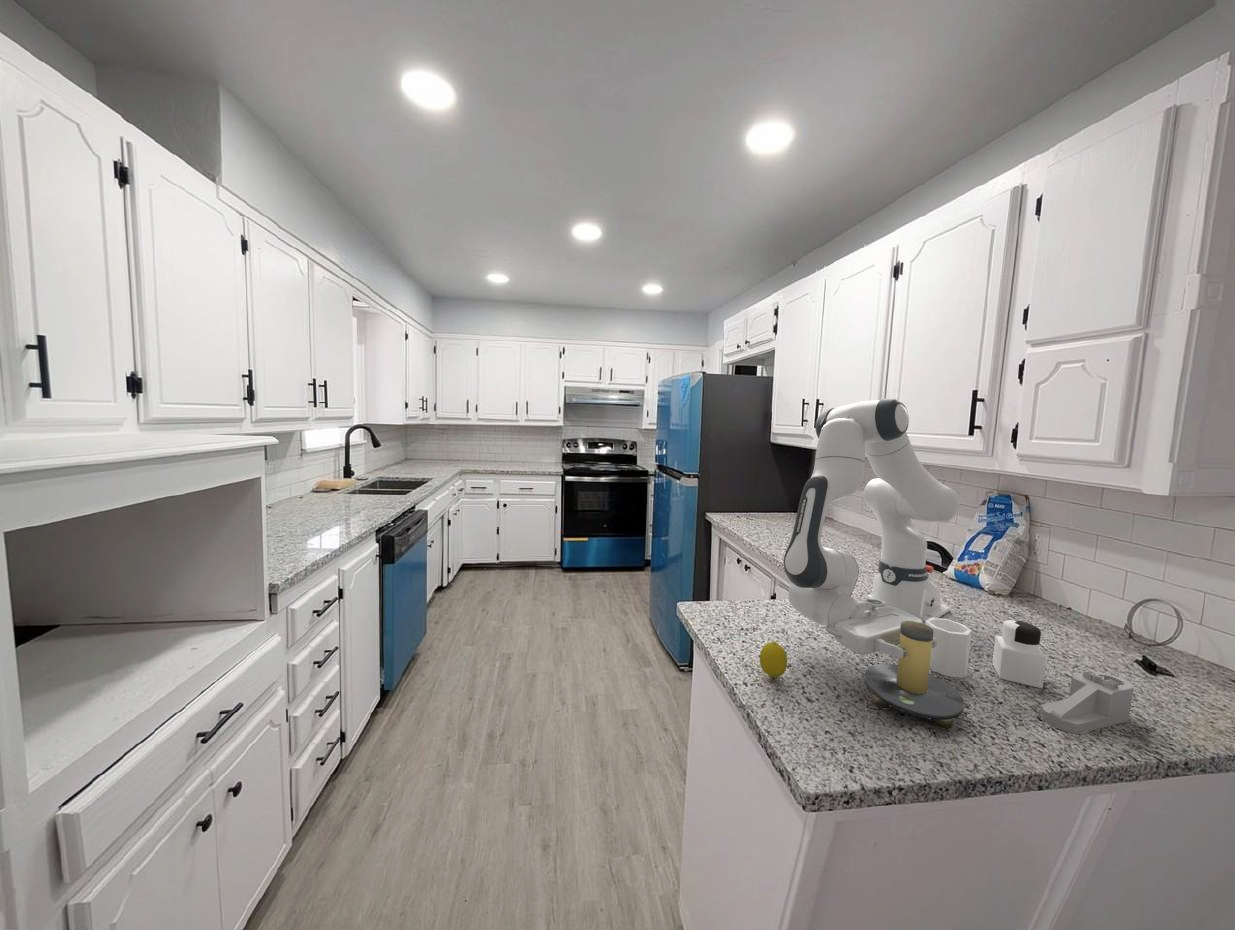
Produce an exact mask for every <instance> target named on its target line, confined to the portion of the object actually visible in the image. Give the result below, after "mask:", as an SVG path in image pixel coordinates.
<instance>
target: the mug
mask: <svg viewBox="0 0 1235 930" xmlns="http://www.w3.org/2000/svg"><path fill="white" fill-rule="evenodd" d="M924 624H925V625H927V626H929V627H931V628H932V629H933V630H934V632H933V638H935V639H936V640H937V646H936V647H934V648H931V657H930V668H929V670H931V671H933V672H936V673H938V674H941V675H943V676H945V677H952V678H962V679H963V678H965V677H966V675H967V674H968V672H969V671H968V670H969V660H970V659H969V658H970V652H971V651H970V650H971V642H972V641H971V640H972V632H973V631H972V630H971V629H970V628H968V626H966V625H965V624H963V623H960V622H957V621H955V620H951V619H948V618H943V617H942V618H941V617H939V618H930V619H928V620H926V621H924Z"/></svg>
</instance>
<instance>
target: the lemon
mask: <svg viewBox="0 0 1235 930" xmlns="http://www.w3.org/2000/svg"><path fill="white" fill-rule="evenodd" d="M759 664H760V667H761V669H762V671H763V672H764V674H766V675H767V676H769V677H770V678H772V679H775V678H777V677H781V676H782V675H783V674H784V673H785V672H786V670H787V667H788V656H787V651H786V650H785V648H784V647H783V646H782V645H781V644H779V643H778V642H776V641H770V642H767V643H766V644H764V645H763V646H762V648H761V650H760V654H759Z"/></svg>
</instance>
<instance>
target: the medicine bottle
mask: <svg viewBox="0 0 1235 930" xmlns="http://www.w3.org/2000/svg"><path fill="white" fill-rule="evenodd" d="M1041 636H1042V631H1041V629H1040V628H1039V627H1037V626H1035V625H1033V624H1031V623H1029V622H1026V621H1022V620H1017V619H1015V620H1014V619H1009V620H1006V621H1004V622H1003V627H1002V635H995V638H994V647H993V654H992V655H993V656H992V666H993V667H994V670H995V672H996V674H997V675H998V678H999V679H1001V680H1005V681H1008V682H1009V681H1010V682H1013V683H1016V684H1021V685H1026V686H1029V687H1034V688H1038V689H1043V688H1044V684H1045V683H1044V681H1045V680H1044V679H1045V673H1046V666H1047V665H1046V664H1047V656H1046V655H1045V653H1044V652H1043V651H1042V650H1041V648H1040V645H1041Z"/></svg>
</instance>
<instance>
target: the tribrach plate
mask: <svg viewBox="0 0 1235 930" xmlns="http://www.w3.org/2000/svg"><path fill="white" fill-rule="evenodd" d="M897 670H898V664H894V663H877V664H874V665H871V666H869V667H867V668H866V669H865V671H864V684H865V686H866V688H867V689H868V690H869V691H870V692H871V700H870V701H871V703H872V705H874V706H875V707H878V708H879V709H884V710H887V709H890V708H891V707H893V708H895V709H897V710H898V711H899V710H900V711H902V712H905V713H907V714H909V715H913V716H917V717H919V718H920V717H921V718H923V719H924V718H925V719H929V720H930V722H931V724H933V725H934V726H935V727H938V728H940V729H942V730H951V729H952V726H953V720H955V719H957V718H959V717H960V716H961V715H962V714H963V713H964V708H965V701H964V698H963V696H962V694H961V693H960V692H959V691H958V690H957V689H956V688H955V687H953V686H952V685H950V683H948V682H947V681H945V680H943V679H941V678H940V677H937V676H935V675H934V674H933V675H932V674H931V673H929V679H928V690H927V693H925V694H916V693H912V692H909V691H906V690H904V689H902V688H901V687H900V686H898V684H897Z"/></svg>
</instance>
